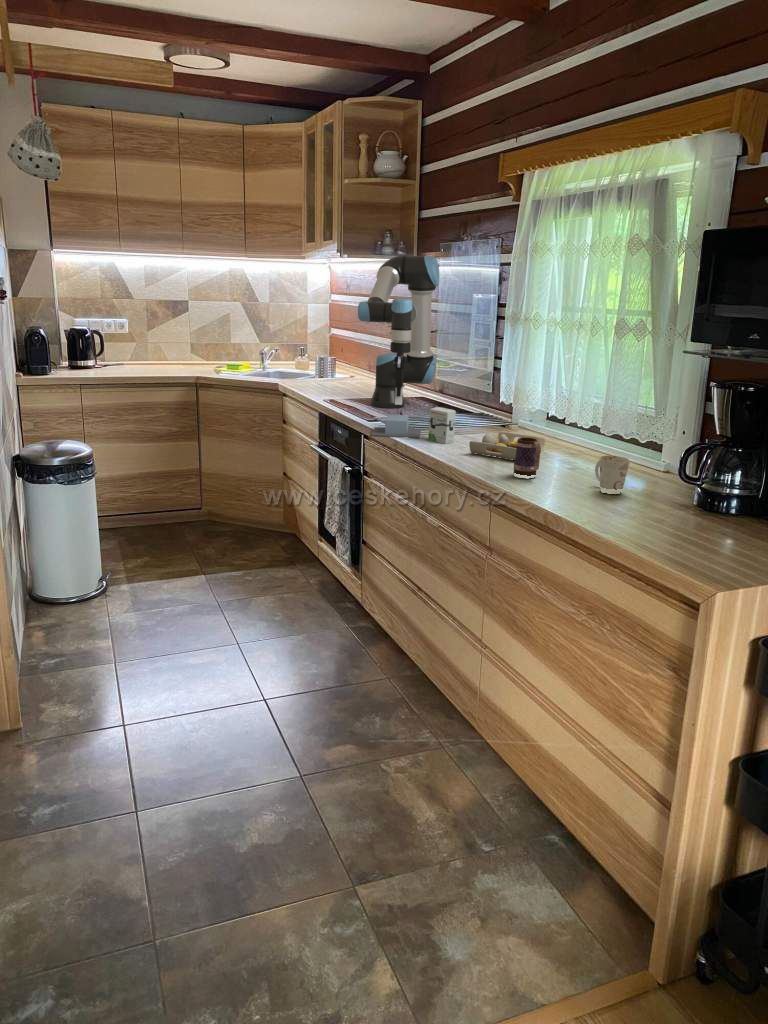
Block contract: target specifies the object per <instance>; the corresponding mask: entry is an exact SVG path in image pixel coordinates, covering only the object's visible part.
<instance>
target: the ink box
mask: <svg viewBox="0 0 768 1024" xmlns="http://www.w3.org/2000/svg"><path fill="white" fill-rule="evenodd" d="M456 413H457V411H456V410H454V409H451V408H450V409H449V408H447V407H446V408H445V407H440V406H436V407H433V408H430V409H429V420H428V422H429V423H428V424H429V425H428V437H427V438H428V439H427V440H428V441H430V442H435V443H440V444H442V445H448V444H453V443H455V429H456V428H455V427H456Z"/></svg>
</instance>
